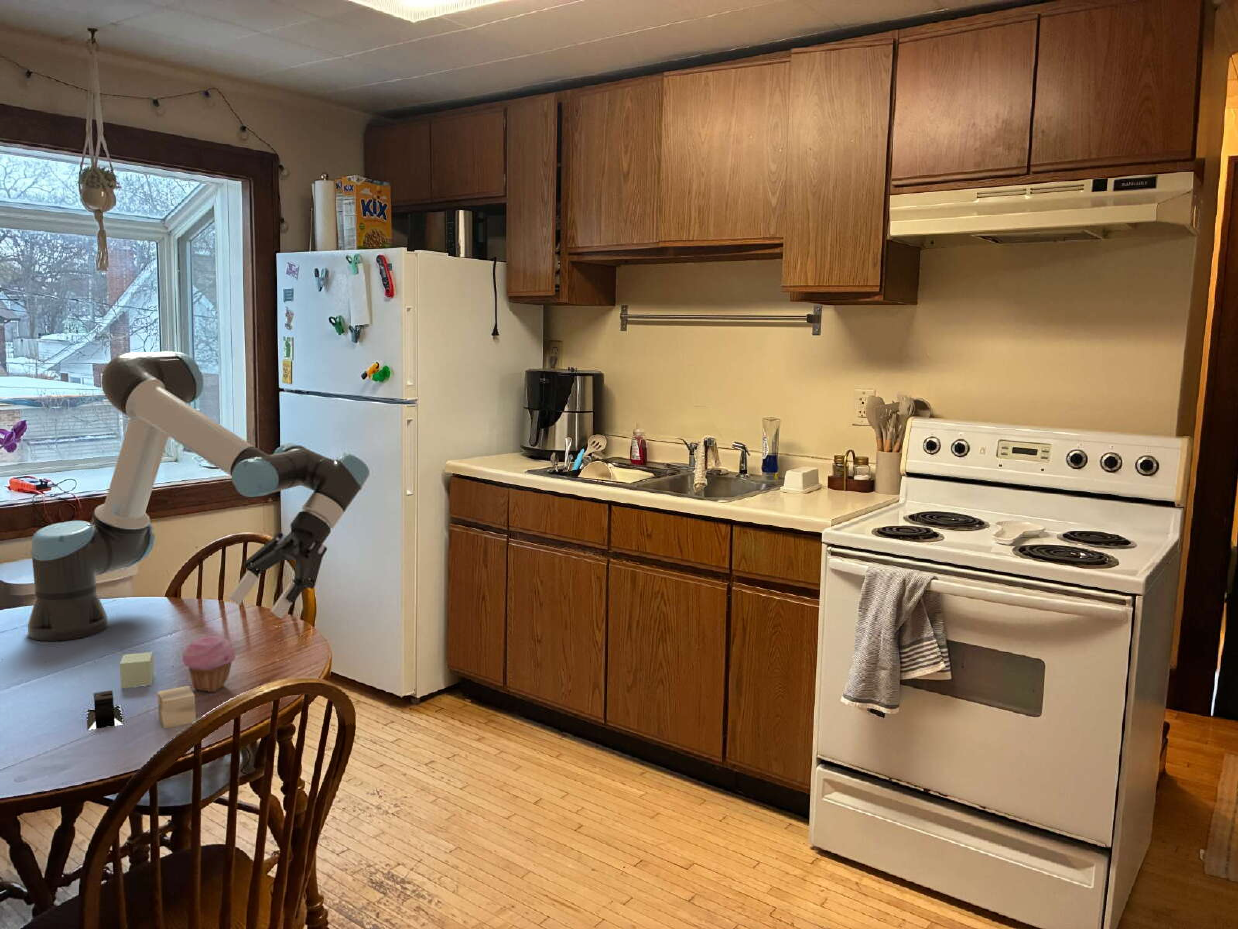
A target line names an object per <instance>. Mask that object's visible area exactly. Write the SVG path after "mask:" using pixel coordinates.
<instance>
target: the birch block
mask: <svg viewBox="0 0 1238 929" xmlns="http://www.w3.org/2000/svg"><path fill="white" fill-rule="evenodd" d="M195 700H196V699H195V693H194V692H193V691H192V689H191V688H190V685H185V686H180V687H176V688H175V687H174V688H170V689H169V688H168V689H165V690H164V689H163V690H159V691H157V707H158V719H159V721H160V723H161V725H162V727H163V729H165V730H166V729H169V728H175V727H180V726H183V724H185V725H189V724H193V723H192V722H194V721H195V720H196V701H195ZM194 723H195V722H194Z"/></svg>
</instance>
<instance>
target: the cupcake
mask: <svg viewBox="0 0 1238 929" xmlns="http://www.w3.org/2000/svg"><path fill="white" fill-rule="evenodd" d="M235 658H236V653H235V648H234V647H233V645H232V643H231V642H230V640H228V638H226V637H223V636H220V635H211V636H206V637H205V636H203V637H199V638H196V639H194V640H193V641H192V642H191V643H190V644H189V645H188V646H186V648H185V650H184V652H183V656H182V662H183V663H184V665H185V666H186V667H187V668H188V671H189V674H190V680H191V683H192V684H191V685H192V688H193V689H195V690H196V689H197V691H203V692H207V691H208V692H207V693H214V692H213V691H215V692H216V691H218V690H220V689H221V688H222V687H223V686H224V685H225V684H226V682H227V680H228V679H229V676H230V673H231V668H232V662H234V660H235Z"/></svg>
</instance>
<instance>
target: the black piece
mask: <svg viewBox="0 0 1238 929" xmlns="http://www.w3.org/2000/svg"><path fill="white" fill-rule="evenodd" d="M113 694H114V693H113V690H112V689H111V690H106V691H105V690H104V691H100V692H94V693H93V702H94V709H95V710H90V709H87V710H88V711H87V712H89V713H88V714H87V715H88V717H87V716H86V728H87V731H92V730H91V729H93V730H98V729H103V728H104V729H105V728H108V727H107V726H111V727H117V726H121V725H122V726H123V725H124V724H123V723H122V722H124V717H123V718H122V716H120V715H122V714H121V713H120V712H121V711H120V710H119V709H118V708H120V707H119V706H116V707H114V695H113ZM87 719H88V720H87ZM122 719H123V721H122ZM124 723H125V722H124ZM117 724H118V725H117Z"/></svg>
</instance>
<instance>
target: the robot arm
mask: <svg viewBox="0 0 1238 929" xmlns="http://www.w3.org/2000/svg"><path fill="white" fill-rule="evenodd" d="M101 388H102V391H103V394H104V396H105V398H106V399H107V400H108V402H109V403H110V404H111V405H112V406H113V407H114V408H116V409H117V410H118V411H119V412H121V413H122V414H124V415H126V417H128V418H129V420H128V423H127V427H126V430H125V434H124V438H123V440H122V443H121V447H120V450H119V455H118V457H117V461H116V464H115V467H114V471H113V475H112V478H111V481H110V483H109V488H108V491H107V495H106V497H105V500H104V503H103V504H100V505H98V506H97V507H95V509H94V511H93V516H92V518H91V522H90V521H89V522H88V521H85V520H67V521H64V522H56V523H53V524H49V525H47V526H45V527H42V528H40V529H38V530H37V531H36V532H35V533H33V536H32V538H31V550H30V554H31V559H32V570H33V571H32V572H33V583H34V584H33V586H34V598H35V599H34V604H33V607H32V609H31V613H30V617H29V621H28V623H27V634H28V637H29V638H30V639H32V640H36V641H44V642H54V641H55V642H58V640H61V641H68V640H75V639H81V637H82V638H86V637H89V636H90V637H91V636H93V635H96V634H97V633H101V632H102V631H104V630H106V628H108V626H109V624H108V616H107V612H106V611H105V608H104V605H103V604H102V601H101V600H100V597H99V595H98V593H97V580H96V579H97V578H96V577H97V576H99V575H103V574H106V573H111V572H113V571H116V570H121V569H124V568H125V569H126V568H129V567H131V566H132V567H133V565H136V564H138V563H140V562H142V561H143V560H145V559H147V557H148V556H149V555H150V554H151V552H152V550H153V548H154V545H155V539H156V538H155V532H153V530H154V528H153V526H152V524H151V518H150V516H149V515H148V513H146V511H147V507H148V505H149V501H150V498H151V495H152V492H153V488H154V485H155V482H156V478H157V475H158V471H159V470H160V465H161V462H162V460H163V456H164V453H165V449H166V446H167V444H168V441H169V440H168V439H169V438H171V439H172V440H174V441H176V442H177V443H179V444H180V445H181V446H183V447H185V448H186V449H188V450H189V451H190V452H193V453H195V454H196V455H197V456H199V457H200V458H202V459H203V460H205V461H207V462H208V463H210V464H211V465H213V466H215V467H216V468H218V469H219V470H220V471H223V472H224V473H226V474H227V475H228V476H230V477H231V480H232V484H233V486H234V487H235V489H236V491H237V492H238V494H241V495H242V496H244V497H247V498H248V497H249V498H253V497H264V496H268V495H271V494H273V493H277V492H280V491H284V490H287V489H288V490H289V489H291V488H295V487H300V486H301V487H303V488H307V489H309V490H312V491H313V492H312V493H311V495H310V496H309V497H308V499H307V500H306V501H305V503H304V504H303V505H302V507H301V511H299V512H298V513H297V515H296V516H295V517H294V518H293V520H292V521H291V523H290V524H289V527H290V532H289V533H288V534H287V535H284V533H283V532H281V531H278V532H277V533H276V534H275V535H274V536H273V537H272V539H270V540H269V541H267V542H266V544H264V545H263V546H262V547H261V548H260V549H259V550H257V551H256V552H255V553H253V554H252V555H251V556H250V557H249V558H248V559H246V560H245V561H244V562H243V563H242V566H243V567H244V568H245V569H246V570H245V572H244V574H243V575H242V577H241V578H240V579H239V581H238V583H237V585H236V586H235V588H234V589H233V590H232V592H231V593H230V595H229V596H228V597H227V598H228V599H229V600H231V601H232V602H234V603H235V604H236V605H237V606H240V605H241V604H242V602H243V601H244V599H245V598H246V597H247V596H248V594H249V593H250V591H251V590H252V588H253V587H254V586H255V585H256V583H257V581H259V579H260V575H261V574H262V573H263V572H266V571H267V570H268V569H270V568H272V567H273V566H275V565H277V564H278V563H280V562H282V561H287V560H294V578H293V579H291V581H292V582H289V583H288V585H287V586H286V587H285V589H284V590H283V592H282V593H281V595H280V596H279V597H278V599H277V600H276V602H275V603H274V604H273V606H272V608H271V609H270V612H271V613H272V614H274V616H276V617H277V618H279V619H283V617H284V616H285V615H286V613H287V612H288V610H289V609H290V608H291V606H292V604H293V603H295V602H296V600H297V599H298V598H299V596H300V594H301V593H302V592H303V591H305V590H306V589H310V590H312V589H314V588H315V586H316V582H317V579H318V576H319V571H320V567H321V564H322V562H323V558H324V555H325V554H326V552H327V550H328V547H327V546H325V545H324V543H325V541H326V540H327V538H328V537H329V536H330V534H331V529H334V528H335V526H336V525H337V523H338V522H339V521H340V519H341V518H342V516H343V515H344V514H345V512H346V510H347V509H348V507H349V506H350V505H351V503H352V502H353V501H354V499H355V498H356V497H357V495H358V493H359V492H360V491H361V490H362V488H363V486H364V484H365V482H366V481H367V480H368V477H369V476H370V469H369V467H368V466H367V464H366V463H365V462H364V461H363V460H362V459H360V458H359V457H357V456H356V455H354V454H351V453H345V452H344V453H341V454H340V455H339V456H338V457H336V459H332V458H328V457H327V456H324V455H322V454H320V453H317V452H315V451H313V450H310V449H307V448H306V447H305V446H303V445H298V444H294V443H292V442H285V443H282V444H281V445H280V447H277V448H276V449H275V451H274V452H273V453H272V454H268V453H265V452H264V451H262V450H260V449H259V448H258V447H256V446H255V445H252V444H251V443H249V442H248V441H246V440H245V439H243V438H241V437H240V436H239V435H237V434H236V433H233V432H232V431H231V430H229V429H227V428H226V427H225V426H223V425H221V424H220V423H219V422H217V421H215V420H213V419H212V418H211V417H209V416H207V415H206V414H204V413H203V412H201V411H199V410H198V409H196V408H194V407H193V406H192V405H190V404H191V403H193V402H194V401H196V400H198V398H199V397H200V396H201V394H202V393H203V389H204V377H203V372H202V371H201V370H200V367H199V365H198V363H197V362H196V361H195V360H194V359H193V357H191V356H190V355H189V354H186V353H185V352H184V353H183V352H180V351H171V350H164V351H153V352H152V351H149V352H126V353H122V354H119V355H117V356H115V357H114V358H112V359H111V360H109V362H108V363H107V364H106V365H105V367H104V369H103V371H102V374H101ZM95 633H96V634H95ZM92 634H93V635H92Z"/></svg>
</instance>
